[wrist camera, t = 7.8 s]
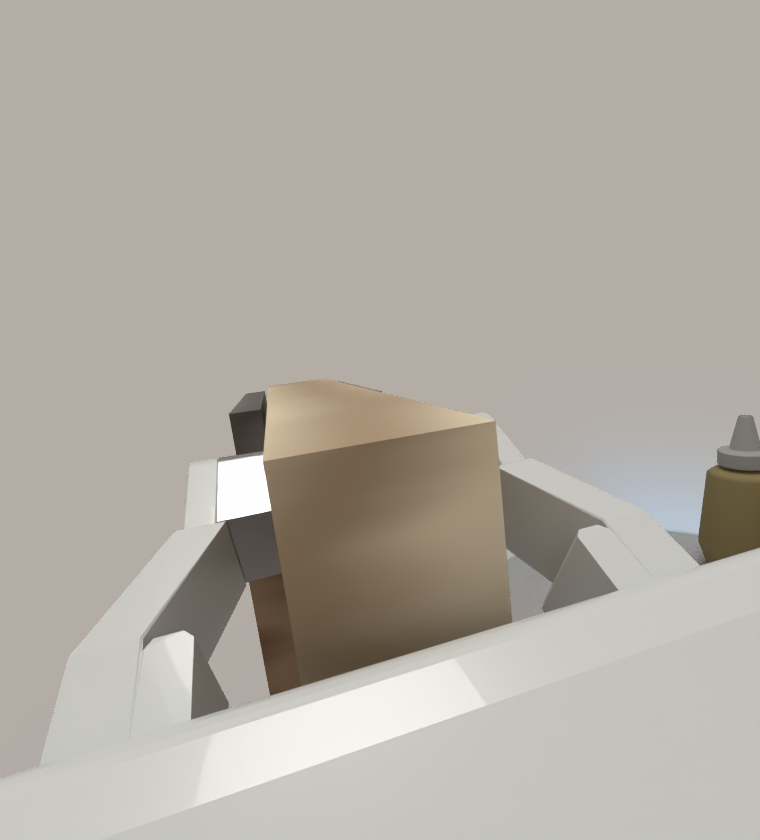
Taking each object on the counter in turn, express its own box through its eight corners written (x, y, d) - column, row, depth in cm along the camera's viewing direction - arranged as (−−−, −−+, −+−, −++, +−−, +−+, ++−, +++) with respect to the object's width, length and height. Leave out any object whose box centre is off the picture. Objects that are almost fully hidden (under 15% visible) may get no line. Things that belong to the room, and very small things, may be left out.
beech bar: (301, 688, 5) (263, 461, 5) (278, 442, 23) (269, 386, 22) (512, 626, 6) (496, 420, 6) (333, 432, 23) (325, 378, 23)
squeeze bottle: (726, 551, 52) (727, 407, 50) (811, 581, 45) (818, 413, 42) (681, 570, 50) (679, 418, 47) (764, 605, 42) (768, 427, 39)
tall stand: (320, 968, 21) (218, 415, 17) (303, 754, 32) (239, 394, 28) (452, 909, 22) (390, 390, 18) (391, 724, 34) (344, 380, 30)
